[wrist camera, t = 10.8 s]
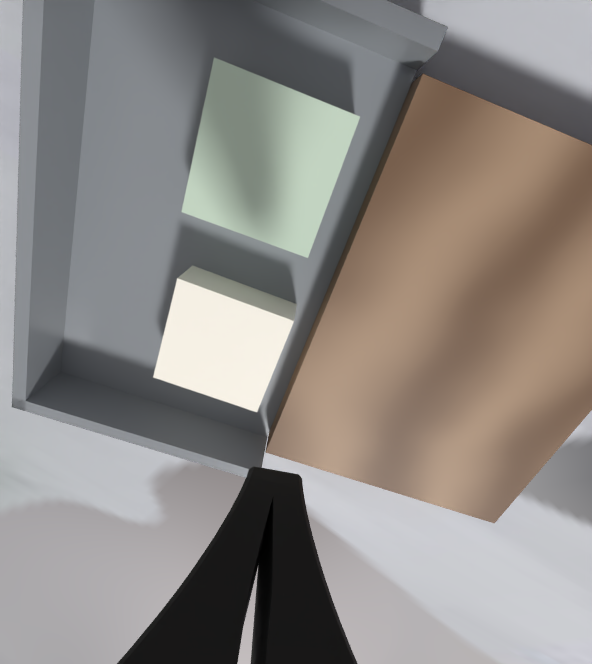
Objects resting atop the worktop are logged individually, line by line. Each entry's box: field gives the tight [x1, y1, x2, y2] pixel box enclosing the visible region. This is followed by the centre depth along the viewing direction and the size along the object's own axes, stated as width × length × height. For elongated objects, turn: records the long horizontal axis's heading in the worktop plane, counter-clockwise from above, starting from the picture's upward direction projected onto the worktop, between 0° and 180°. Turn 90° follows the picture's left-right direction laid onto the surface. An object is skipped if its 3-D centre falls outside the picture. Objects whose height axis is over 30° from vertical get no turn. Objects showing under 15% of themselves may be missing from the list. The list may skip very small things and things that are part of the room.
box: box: [12, 0, 448, 478], centre depth 16 cm, size 12×19×3 cm, turn 161°
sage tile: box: [182, 58, 360, 258], centre depth 14 cm, size 5×5×2 cm
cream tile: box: [153, 265, 297, 412], centre depth 17 cm, size 5×5×2 cm
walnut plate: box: [266, 74, 592, 523], centre depth 17 cm, size 13×17×2 cm
